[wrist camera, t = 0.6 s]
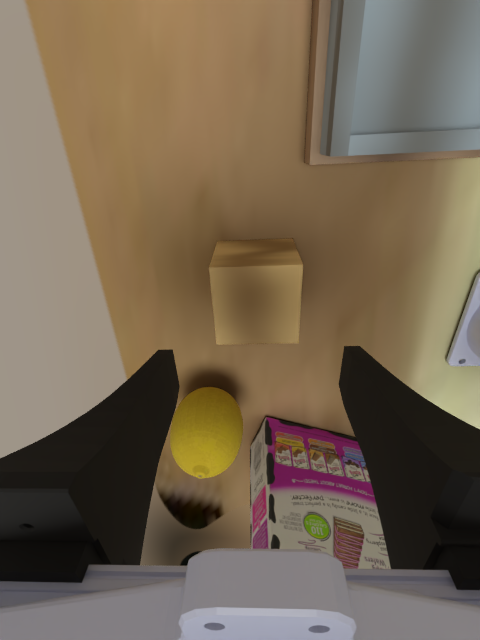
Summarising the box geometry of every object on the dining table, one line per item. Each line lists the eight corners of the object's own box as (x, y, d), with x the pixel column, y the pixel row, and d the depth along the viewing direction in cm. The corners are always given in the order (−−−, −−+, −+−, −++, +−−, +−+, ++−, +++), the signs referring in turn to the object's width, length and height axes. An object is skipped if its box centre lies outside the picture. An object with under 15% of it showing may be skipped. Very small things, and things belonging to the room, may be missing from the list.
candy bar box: (248, 447, 32) (245, 700, 17) (264, 413, 29) (276, 676, 15) (350, 470, 33) (424, 723, 19) (374, 440, 30) (480, 705, 16)
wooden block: (292, 238, 21) (303, 264, 17) (289, 304, 23) (298, 343, 19) (217, 240, 21) (208, 267, 17) (222, 306, 24) (216, 344, 19)
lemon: (168, 385, 28) (141, 467, 21) (219, 357, 26) (207, 437, 19) (207, 422, 30) (193, 508, 23) (256, 399, 28) (257, 484, 21)
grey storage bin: (563, -121, 13) (696, -230, 9) (480, 153, 18) (543, 158, 14) (317, -99, 13) (344, -194, 10) (304, 162, 18) (317, 169, 15)
